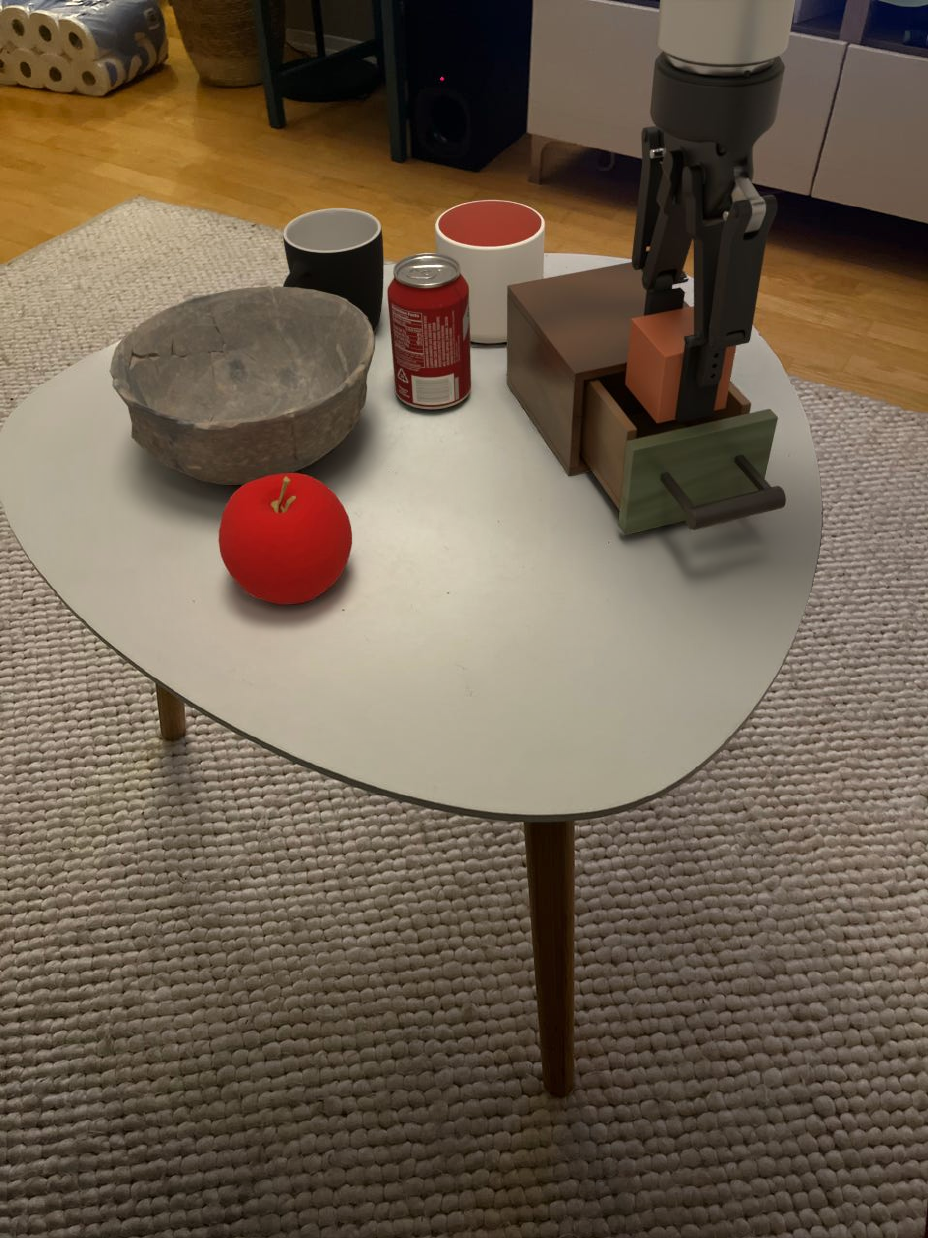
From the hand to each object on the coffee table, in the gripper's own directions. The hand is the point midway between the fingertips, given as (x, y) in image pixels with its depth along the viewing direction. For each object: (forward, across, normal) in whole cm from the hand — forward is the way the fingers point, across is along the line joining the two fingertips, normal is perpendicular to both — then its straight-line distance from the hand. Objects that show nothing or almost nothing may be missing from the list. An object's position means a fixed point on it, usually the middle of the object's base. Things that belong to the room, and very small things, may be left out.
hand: (674, 392), depth 79 cm
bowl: (+9, +16, +29) cm, 34 cm away
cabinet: (+9, +11, 0) cm, 14 cm away
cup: (+9, +29, +4) cm, 31 cm away
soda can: (+9, +19, +13) cm, 25 cm away
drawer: (+8, -1, 0) cm, 8 cm away
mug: (+9, +32, +19) cm, 39 cm away
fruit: (+9, -1, +30) cm, 31 cm away
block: (0, 0, 0) cm, 0 cm away
